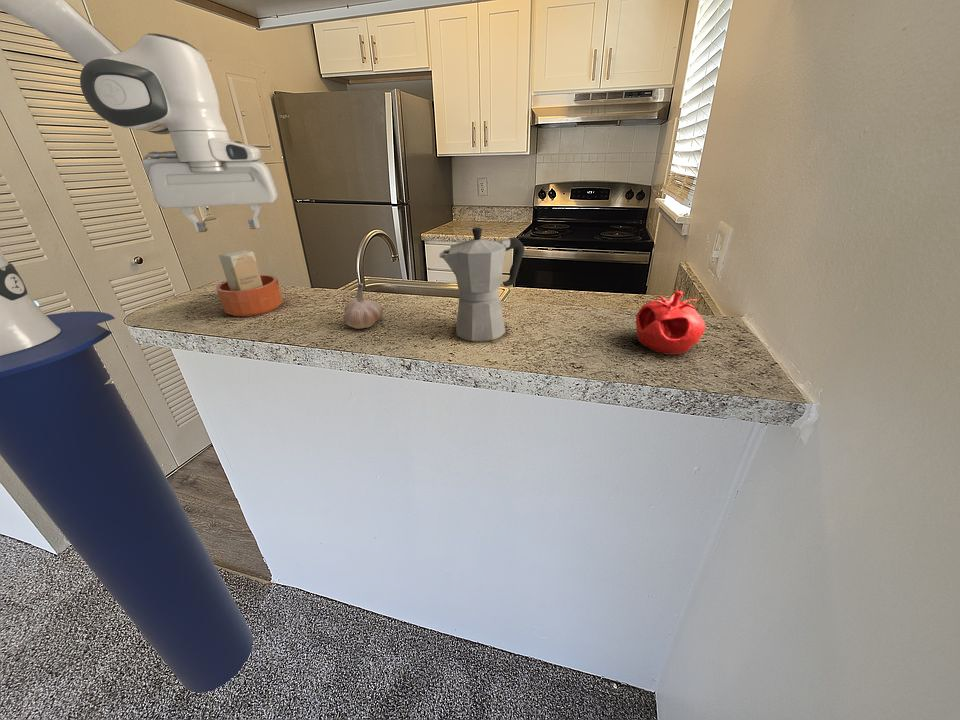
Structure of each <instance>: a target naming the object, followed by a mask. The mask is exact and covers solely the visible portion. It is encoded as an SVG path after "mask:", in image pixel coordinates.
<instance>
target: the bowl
mask: <svg viewBox="0 0 960 720" xmlns="http://www.w3.org/2000/svg"><path fill="white" fill-rule="evenodd" d="M260 277H261V281H262V284H263V286H261V287H257V288H253V289H248V290H240V291H230V289H229V286H228V282H227V280H225V281H222V282H220V283H219V284H217V285H216V286H215V290H216V292H217V295H218V298H219V301H220V304H221V307H222V309H223V313H225V314H227V315H230V316H233V317H252V316H259V315H262V314H266V313H268V312H269V313H270V312H271V311H274V310H276V309H277V308H278V307H280V306H281V304H282V303H283V302H284V297H283V294H282V291H281V287H280V283H279V279H278V278H277V276H275V275H272V274H260Z"/></svg>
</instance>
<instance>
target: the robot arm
mask: <svg viewBox="0 0 960 720" xmlns="http://www.w3.org/2000/svg"><path fill="white" fill-rule="evenodd" d="M0 11H1V12H4V13H6V14H8V15H9V16H11V17H14V18H15V19H17V20H19V21H21V22H23V23H25V24H27V25H28V26H30V27H32V28H33V29H35V30H36V31H38V33H39V32H40V33H41V34H42V35H44V36H46V38H48V39H49V40H50V41H52V42H53V43H54V44H56V45H57V46H58V47H59V48H61V50H63V51H64V53H67V54H68V55H69V56H70V57H71V58H72V59H74V61H76V62H77V63H78V64H80V65H81V66H82V67H83V68H82V69H81V72H80V76H79V85H80V89H81V93H82V95H83V97H84V99H85V101H86V103H87V104H88V106H89V107H90V108H91V109H92V110H93V111H94V113H96V114H97V115H98V116H99V117H101V118H102V119H103V120H105V121H107V122H109V123H111V124H112V125H115V126H118V127H121V128H124V129H130V130H136V131H144V132H150V133H152V134H156V135H169V136H170V139H171V142H172V145H173V148H174V150H167V151H166V150H165V151H149V152H147V154H146V155H144V156H143V158H142V161H141V163H142V166H143V169H144V171H145V174H146V175H147V177H148V178H149V183H150V188H151V192H152V195H153V200H154V201H155V203H156V204H157V205H158V206H159V207H161V209H181V212H182V215H183V216H184V217H185V218H186V219H187V220H188V221H189V222H190V223H191V224H193V227H194V230H195V232H196V233H206V232H208V227H207V223H206V221H205V220H203V221H202V220H199V218H198V217H197V216H196V215H195V214H194V213H195V212H196V210H195V208H202V207H204V208H205V207H223V206H225V207H226V206H243V205H249V206H250V210H251V211H254V212H253V215H252V218H249V219H247V223H248V225H249V229H250V230H259V229H261V224H260V221H259V218H260V215H261V212H262V204H274V203H275V202H277V200H278V198H279V194H278V189H277V186H276V183H275V180H274V177H273V175H272V173H271V170H270V168H269V167H268V165H267V164H266V163H265V162H263V161H262V160H261V159H262V157H263V156H262V151H261V149H260V148H259V147H257V146H254V145H250V144H247V143H243V142H242V141H238V140H232V139H231V138H230V134H229V132H228V128H227V126H226V124H225V123H224V121H223V118H222V115H221V103H220V99H219V95H218V92H217V88H216V84H215V82H214V79H213V76H212V73H211V71H210V68H209V65H208V63H207V60H206V59H205V57H204V55H203V54H202V53H201V52H200V51H199V49H197V48H196V47H195V46H193V45H192V44H191V43H189V42H187V41H186V40H182V39H179V38H177V37H173V36H171V35H167V34H161V33H145V34H143V35H142V36H141V37H140V39H139V40H138V41H137V42H136V43H135V44H133V45H132V46H130V47H129V48H127V49H125V50H123V51H122V50H120V48H118V47H117V46H116V45H115V44H114V43H113V42H112V41H111V40H110V39H108V38H107V37H106V36H105V35H104V34H103V33H102V32H100V31H99V29H97V28H96V27H95V26H94V25H93V24H92V23H90V21H88V20H87V19H86V18H85V17H84V16H83V15H82V14H81V13H80V12H78V11H77V10H76V9H75V8H74V7H73V6H72V5H71V4H70V3H69V2H67V0H0ZM3 253H4V252H2V250H1V249H0V356H2V355H6V354H10V353H13V352H17V351H20V350H24V349H27V348H30V347H33V346H35V345H38V344H41V343H43V342H45V341H48V340H50V339H52V338H53V337H55V336H57V335H58V334H59V333H60V332H61V329H60V328H59V327H58V326H56V325H55V324H54V323H53V322H52V321H51V320H50V319H49V318H48V317H47V316H46V315H47V314H46V313H45V312H44V311H43V309H41V308H40V307H39V306H40V304H39V303H38V302H37V301H35V300H34V299H33V298H32V297H31V295H30V294H29V292H28V289H27V287H26V284H25V282H24V280H23V279H22V277H21V275H20V274H19V272H18V271H17V269H16V268H15V266H14V264H13V263H11V262H9V261H8V260H7V258H6V257H5V255H4V254H3Z"/></svg>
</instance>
